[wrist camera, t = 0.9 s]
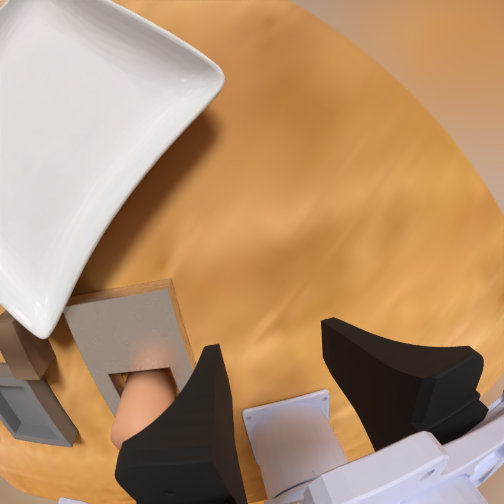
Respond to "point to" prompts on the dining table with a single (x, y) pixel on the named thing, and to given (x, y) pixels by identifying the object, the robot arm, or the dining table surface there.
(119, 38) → the salad plate
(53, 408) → the tray
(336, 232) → the dining table surface
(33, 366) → the block
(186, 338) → the grey flat frame
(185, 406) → the robot arm
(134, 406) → the dowel
